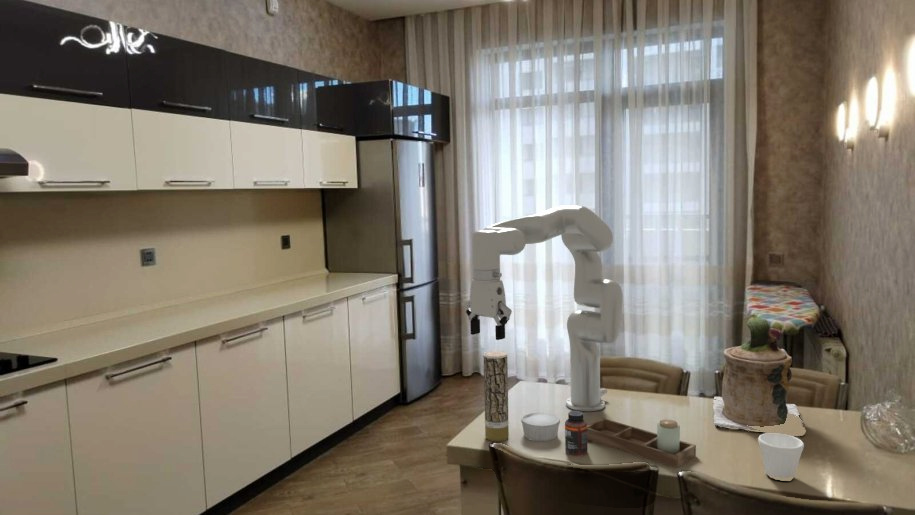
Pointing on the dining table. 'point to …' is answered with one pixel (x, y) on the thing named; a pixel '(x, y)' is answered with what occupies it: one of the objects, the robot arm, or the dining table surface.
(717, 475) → the dining table surface
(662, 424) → the sage jar
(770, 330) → the cookie jar
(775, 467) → the cup
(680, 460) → the rack
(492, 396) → the bark-patterned cylinder
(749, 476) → the dining table surface
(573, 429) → the supplement bottle
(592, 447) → the dining table surface
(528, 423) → the ramekin
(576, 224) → the robot arm
